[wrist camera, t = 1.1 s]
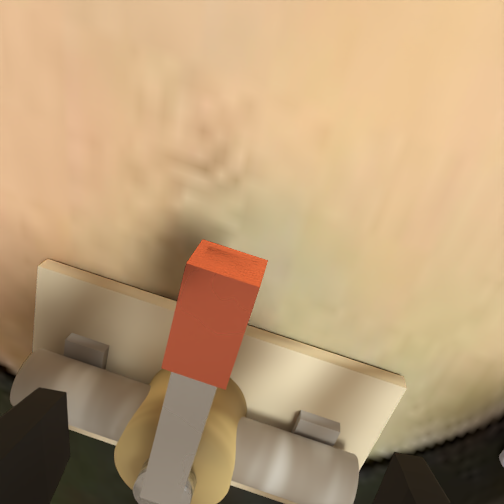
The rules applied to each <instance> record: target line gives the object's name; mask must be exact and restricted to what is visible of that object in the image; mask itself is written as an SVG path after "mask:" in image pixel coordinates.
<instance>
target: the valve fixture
mask: <svg viewBox="0 0 504 504" xmlns="http://www.w3.org/2000/svg"><path fill="white" fill-rule="evenodd" d="M176 304H177V301H174V300H171V299H168V298H165V297H162V296H159V295H156V294H153V293H150V292H146V291H143V290H140V289H137V288H134V287H131V286H128V285H125V284H122V283H119V282H116V281H113V280H110V279H107V278H104V277H101V276H98V275H95V274H92V273H89V272H86V271H83V270H80V269H77V268H74V267H71V266H68V265H65V264H62V263H59V262H56V261H53V260H50V259H47V260H45V261H44V262H43V263H41V264H40V265H38V271H37V286H36V301H35V316H34V331H33V346H32V354H31V355H30V356H29V357H28V358H27V359H26V360H25V362H24V363H23V365H22V366H21V368H20V370H19V371H18V373H17V375H16V377H15V380H14V382H13V385H12V389H11V393H10V402H11V404H12V405H13V406H15V405H16V404H18V403H19V402H20V401H22V400H23V399H24V398H25V397H27V396H28V395H29V394H30V393H32V392H33V391H34V390H36V389H37V388H39V387H41V388H46V389H52V390H57V391H63V392H66V393H67V410H68V427H69V430H72V431H75V432H78V433H81V434H84V435H87V436H89V437H92V438H95V439H98V440H101V441H104V442H107V443H110V444H113V445H116V447H115V452H114V460H115V465H116V468H117V470H118V473H119V474H120V476H121V478H122V479H123V480H124V482H125V483H126V484H127V485H128V486H129V487H130V488H131V489H132V490H133V486H134V484H135V481H136V479H137V477H138V475H139V473H140V471H141V468H142V466H143V464H144V462H145V461H146V460H147V459H148V458H150V454H151V450H152V446H153V442H154V438H155V434H156V430H157V426H158V422H159V418H160V414H161V410H162V406H163V402H164V399H165V395H166V391H167V387H168V383H169V379H170V375H171V371H168V370H165V369H162V368H161V367H162V363H163V358H164V354H165V350H166V346H167V342H168V337H169V333H170V329H171V325H172V321H173V316H174V312H175V308H176ZM406 389H407V387H406V383H405V378H404V377H403V376H400V375H397V374H394V373H391V372H388V371H385V370H382V369H379V368H376V367H373V366H370V365H367V364H364V363H361V362H358V361H355V360H352V359H349V358H346V357H343V356H340V355H337V354H334V353H331V352H328V351H325V350H322V349H319V348H316V347H312V346H309V345H306V344H303V343H300V342H297V341H294V340H291V339H288V338H285V337H282V336H279V335H276V334H273V333H270V332H267V331H264V330H261V329H258V328H255V327H252V326H249V325H247V327H246V330H245V333H244V336H243V339H242V342H241V345H240V348H239V351H238V354H237V357H236V360H235V363H234V366H233V369H232V372H231V375H230V378H229V381H228V384H227V387H226V390H224V389H221V388H218V387H217V390H216V393H215V396H214V399H213V402H212V406H211V409H210V412H209V415H208V418H207V421H206V424H205V427H204V431H203V434H202V437H201V440H200V443H199V446H198V449H197V452H196V456H195V459H194V462H193V465H192V469H193V471H194V472H195V474H196V478H197V483H196V487H195V490H194V493H193V496H192V499H191V503H190V504H217V503H218V502H220V501H221V500H222V499H223V498H224V497H225V495H226V494H227V492H228V490H229V487H230V485H232V486H235V487H238V488H241V489H244V490H247V491H250V492H253V493H256V494H259V495H261V496H264V497H267V498H270V499H273V500H276V501H279V502H282V503H285V504H353V502H354V499H355V496H356V491H357V486H358V478H359V471H360V469H361V467H362V465H363V464H364V462H365V460H366V458H367V457H368V455H369V453H370V451H371V450H372V448H373V446H374V444H375V443H376V441H377V439H378V438H379V436H380V434H381V432H382V431H383V429H384V427H385V425H386V424H387V422H388V420H389V418H390V417H391V415H392V413H393V412H394V410H395V408H396V406H397V405H398V403H399V401H400V399H401V398H402V396H403V394H404V392H405V391H406Z"/></svg>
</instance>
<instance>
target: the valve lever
mask: <svg viewBox="0 0 504 504" xmlns="http://www.w3.org/2000/svg"><path fill="white" fill-rule="evenodd" d="M267 262H268V260H265V259H262V258H259V257H256V256H252V255H249V254H246V253H243V252H240V251H237V250H234V249H231V248H228V247H225V246H222V245H219V244H216V243H213V242H210V241H206V240H202V241H201V242H200V244H199V245H198V247H197V248H196V250H195V251H194V253H193V254H192V255H191V257H190V258H189V260H188V261H187V263H186V266H185V270H184V274H183V279H182V283H181V287H180V291H179V295H178V300H177V304H176V308H175V312H174V316H173V321H172V325H171V329H170V333H169V337H168V342H167V346H166V350H165V354H164V358H163V363H162V367H161V368H162V369H165V370H168V371H171V375H170V379H169V383H168V387H167V391H166V395H165V399H164V402H163V406H162V410H161V414H160V418H159V422H158V426H157V430H156V434H155V438H154V442H153V446H152V450H151V454H150V458H148V459H147V460H146V461H145V462H144V464H143V466H142V468H141V471H140V473H139V475H138V477H137V479H136V481H135V484H134V486H133V495H134V497H135V499H136V501H137V502H138V503H139V504H190V503H191V499H192V496H193V493H194V490H195V487H196V483H197V478H196V474H195V472H194V471H193V469H192V465H193V462H194V459H195V456H196V452H197V449H198V446H199V443H200V440H201V437H202V434H203V431H204V427H205V424H206V421H207V418H208V415H209V412H210V409H211V406H212V402H213V399H214V396H215V393H216V390H217V387H218V388H221V389H224V390H226V387H227V384H228V381H229V378H230V375H231V372H232V369H233V366H234V363H235V360H236V357H237V354H238V351H239V348H240V345H241V342H242V339H243V336H244V333H245V330H246V327H247V324H248V321H249V318H250V315H251V312H252V309H253V306H254V303H255V300H256V297H257V294H258V291H259V288H260V285H261V282H262V278H263V275H264V272H265V268H266V265H267Z"/></svg>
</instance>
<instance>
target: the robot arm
mask: <svg viewBox="0 0 504 504" xmlns="http://www.w3.org/2000/svg"><path fill="white" fill-rule="evenodd" d="M69 458H70V444H69V427H68V410H67V393H66V392H63V391H57V390H52V389H46V388H41V387H39V388H37V389H36V390H34V391H33V392H32V393H30V394H29V395H28V396H27V397H25V398H24V399H23V400H22V401H20V402H19V403H18V404H16V405H15V406H14V407H13V408H11V409H10V410H9V411H8V412H6V413H5V414H4V415H3V416H1V417H0V504H49V503H50V501H51V499H52V497H53V495H54V492H55V490H56V488H57V486H58V484H59V481H60V479H61V477H62V474H63V472H64V470H65V467H66V465H67V463H68V460H69ZM499 460H500V462H501V464H502V466H503V467H504V450H503V451H502V452H501V453H500V456H499ZM373 504H451V502H450V501H449V499H448V497H447V496H446V494H445V492H444V491H443V489H442V488H441V486H440V484H439V483H438V481H437V479H436V478H435V476H434V474H433V473H432V471H431V469H430V468H429V466H428V465H427V463H426V461H425V460H424V458H423V457H419V456H413V455H408V454H402V453H397V452H394V454H393V456H392V459H391V461H390V463H389V466H388V468H387V471H386V473H385V475H384V478H383V480H382V483H381V485H380V487H379V490H378V492H377V494H376V497H375V499H374V502H373Z"/></svg>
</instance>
